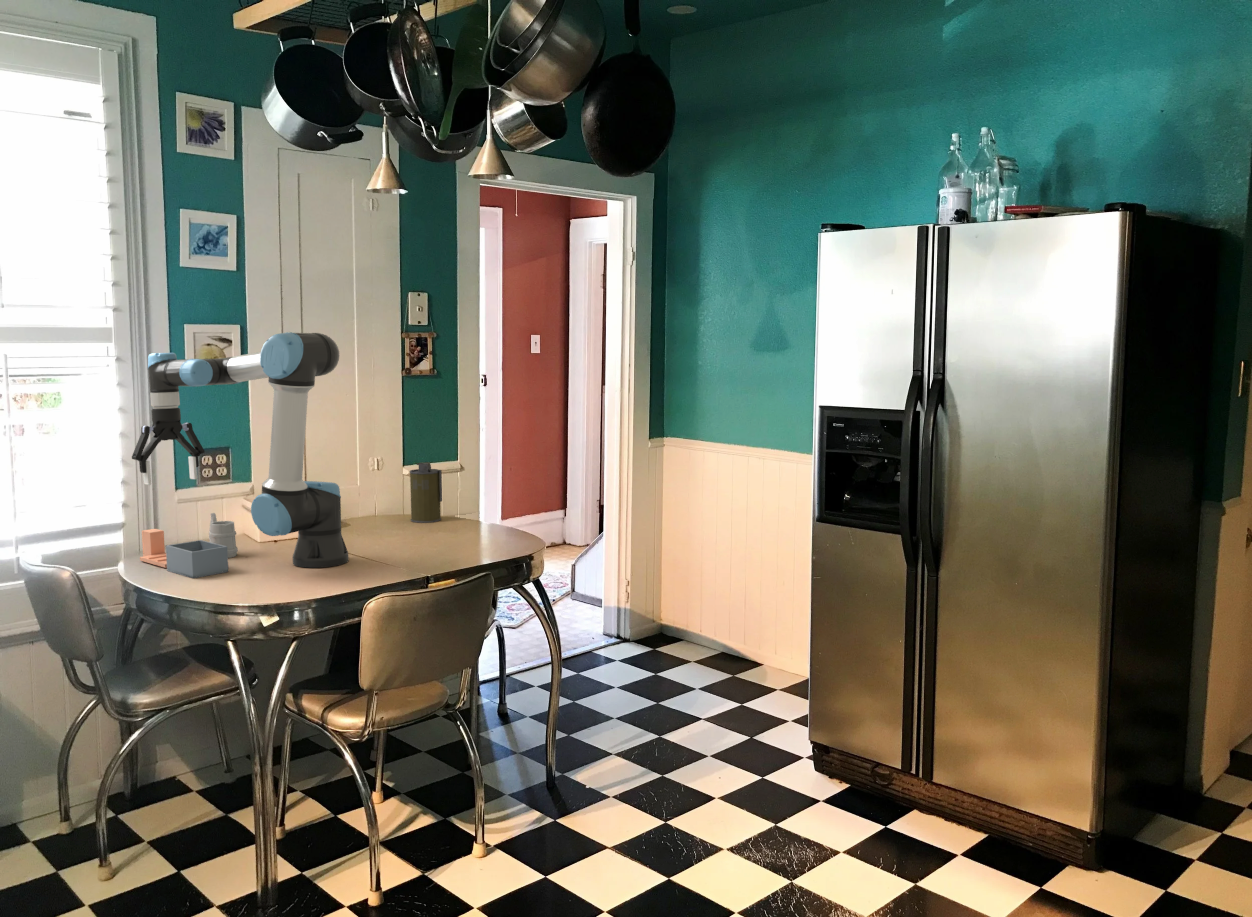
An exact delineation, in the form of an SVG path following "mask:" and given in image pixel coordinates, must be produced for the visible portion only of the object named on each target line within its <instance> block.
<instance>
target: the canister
mask: <svg viewBox="0 0 1252 917" xmlns="http://www.w3.org/2000/svg"><path fill="white" fill-rule="evenodd" d="M416 465H417V466H418V468H417V469H411V470H409V476H410V477H409V482H410V486H409V487H410V515H411V516H410V522H412V523H417V524H422V523H423V524H427V523H428V524H429V523H436V522H440V521H442V517H441V516H442V515H441V502H443V481H442V479H443V478H442V477H443V476H442V472H443V471H442V469H437V468H432V466H431V465H432V464H431V462H418V463H416Z"/></svg>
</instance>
